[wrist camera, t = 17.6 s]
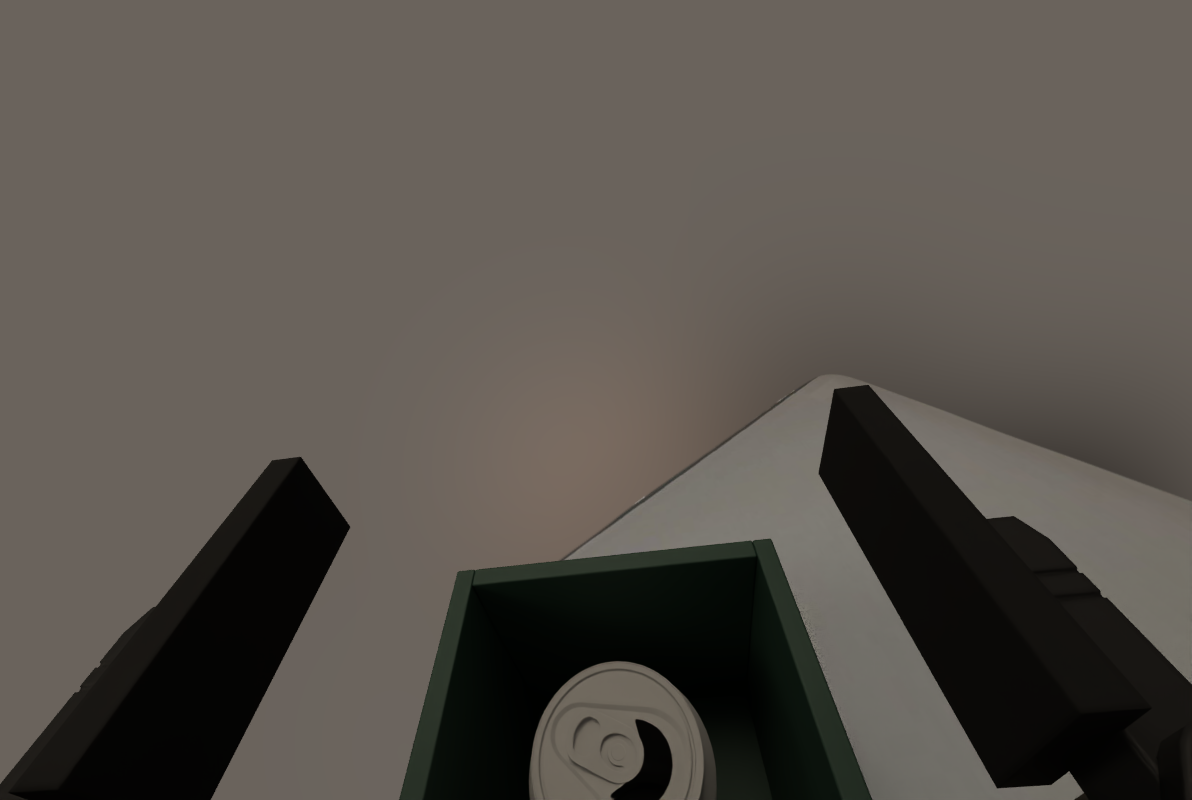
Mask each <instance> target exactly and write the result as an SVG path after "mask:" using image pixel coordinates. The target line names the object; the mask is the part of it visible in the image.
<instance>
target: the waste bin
mask: <svg viewBox="0 0 1192 800" xmlns="http://www.w3.org/2000/svg"><path fill="white" fill-rule="evenodd" d="M616 661H621V662H631V663H635V664H639V665H643V666H645V667H648V668H650V669H652V670H654V671H656V672H657V673H659V674H660V675H662V676H663V677H664V678H666V679H667V680H668V681H669V682H670V683H671V684H672V685H673V686H675V687H676V688H677V689H678V690H679V691H680V692H681V693H682V694H683V695H684V696H685V697H686V698H687V699H688V700H689V702H690V703H691V704H692V706H693V707H694V709H695V710H696V712H697V713H698V715H699V717H700V718H701V720H702V722H703V724H704V726H705V729H706V731H707V734H708V737H709V740H710V743H711V746H712V750H713V754H714V760H715V766H716V781H717V800H872V798H871V796H870V793H869V790H868V788H867V785H866V783H865V780H864V777H863V775H862V772H861V770H860V767H859V765H858V762H857V759H856V757H855V754H854V752H853V749H852V746H851V744H850V741H849V739H848V736H847V733H846V731H845V728H844V726H843V723H842V721H841V718H840V715H839V713H838V710H837V708H836V705H835V702H834V700H833V697H832V695H831V692H830V690H829V687H828V684H827V682H826V679H825V677H824V674H823V671H822V669H821V666H820V664H819V661H818V659H817V656H816V653H815V651H814V648H813V646H812V643H811V640H810V638H809V635H808V633H807V630H806V627H805V625H804V622H803V620H802V617H801V615H800V612H799V609H798V607H797V604H796V602H795V599H794V596H793V594H792V591H791V589H790V586H789V584H788V581H787V578H786V576H785V573H784V571H783V568H782V565H781V563H780V560H779V558H778V555H777V553H776V550H775V547H774V545H773V542H772V540H771V539H763V540H754V541H753V543H752V541H744V542H734V543H725V544H715V545H706V546H696V547H687V548H677V549H668V550H658V551H649V552H639V553H630V554H621V555H611V556H602V557H592V558H583V559H573V560H564V561H554V562H546V563H536V564H526V565H518V566H517V565H516V566H507V567H497V568H488V569H479V570H476V571H475V570H467V571H459V572H458V573H457V578H456V581H455V585H454V589H453V593H452V597H451V600H450V604H449V608H448V612H447V616H446V620H445V624H444V628H443V632H442V636H441V639H440V643H439V647H438V651H437V655H436V659H435V663H434V667H433V670H432V674H431V678H430V682H429V686H428V690H427V694H426V698H425V702H424V706H423V709H422V713H421V717H420V721H419V725H418V729H417V733H416V737H415V741H414V744H413V749H412V752H411V756H410V760H409V764H408V768H407V772H406V776H405V779H404V784H403V787H402V791H401V795H400V799H399V800H530V796H529V770H530V761H531V756H532V748H533V743H534V739H535V734H536V731H537V728H538V725H539V722H540V720H541V717H542V715H543V713H544V711H545V709H546V708H547V706H548V704H549V702H550V701H551V699H552V698H553V697H554V695H555V694H556V693H557V692H558V690H559V689H560V688H561V687H562V686H563V685H564V684H565V683H566V682H568V681H569V680H570V679H571V678H572V677H574V676H575V675H577V674H578V673H580V672H581V671H583V670H585V669H587V668H590V667H592V666H595V665H598V664H601V663H606V662H616Z"/></svg>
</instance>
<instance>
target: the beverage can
mask: <svg viewBox="0 0 1192 800" xmlns="http://www.w3.org/2000/svg"><path fill="white" fill-rule="evenodd" d="M529 796H530V800H717V781H716V766H715V760H714V754H713V750H712V746H711V743H710V740H709V737H708V734H707V731H706V729H705V726H704V724H703V722H702V720H701V718H700V717H699V715H698V713H697V712H696V710H695V709H694V707H693V706H692V704H691V703H690V702H689V700H688V699H687V698H686V697H685V696H684V695H683V694H682V693H681V692H680V691H679V690H678V689H677V688H676V687H675V686H673V685H672V684H671V683H670V682H669V681H668V680H667V679H666V678H664V677H663V676H662V675H660V674H659V673H657V672H656V671H654V670H652V669H650V668H648V667H645V666H643V665H639V664H635V663H631V662H621V661H616V662H606V663H601V664H598V665H595V666H592V667H590V668H587V669H585V670H583V671H581V672H580V673H578V674H577V675H575V676H574V677H572V678H571V679H570V680H569V681H568V682H566V683H565V684H564V685H563V686H562V687H561V688H560V689H559V690H558V692H557V693H556V694H555V695H554V697H553V698H552V699H551V701H550V702H549V704H548V706H547V708H546V709H545V711H544V713H543V715H542V717H541V720H540V722H539V725H538V728H537V731H536V734H535V739H534V743H533V748H532V756H531V761H530V770H529Z"/></svg>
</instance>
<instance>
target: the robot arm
mask: <svg viewBox="0 0 1192 800" xmlns="http://www.w3.org/2000/svg"><path fill="white" fill-rule="evenodd" d="M819 475H820V477H821V479H822V480H823V482H824V484H825V486H826V487H827V489H828V491H829V493H830V494H831V496H832V498H833V500H834V502H835V503H836V505H837V507H838V509H839V510H840V512H841V514H842V516H843V517H844V519H845V521H846V523H847V524H848V526H849V528H850V530H851V532H852V533H853V535H854V537H855V539H856V540H857V542H858V544H859V546H860V547H861V549H862V551H863V553H864V554H865V556H866V558H867V560H868V562H869V563H870V565H871V567H872V569H873V570H874V572H875V574H876V576H877V577H878V579H879V581H880V583H881V584H882V586H883V588H884V590H885V591H886V593H887V595H888V597H889V599H890V600H891V602H892V604H893V606H894V607H895V609H896V611H897V613H898V614H899V616H900V618H901V620H902V621H903V623H904V625H905V627H906V629H907V630H908V632H909V634H910V636H911V637H912V639H913V641H914V643H915V644H916V646H917V648H918V650H919V651H920V653H921V655H922V657H923V658H924V660H925V662H926V664H927V666H928V667H929V669H930V671H931V673H932V674H933V676H934V678H935V680H936V681H937V683H938V685H939V687H940V688H941V690H942V692H943V694H944V696H945V697H946V699H947V701H948V703H949V704H950V706H951V708H952V710H953V711H954V713H955V715H956V717H957V718H958V720H959V722H960V724H961V725H962V727H963V729H964V731H965V733H966V734H967V736H968V738H969V740H970V741H971V743H972V745H973V747H974V748H975V750H976V752H977V754H978V755H979V757H980V759H981V761H982V763H983V764H984V766H985V768H986V770H987V771H988V773H989V775H990V777H991V778H992V780H993V782H994V784H995V785H996V787H997V788H1009V787H1024V786H1040V785H1051V784H1053V783H1054V782H1055V781H1057V780H1058V779H1059V778H1061V777H1062V776H1063V775H1065V774H1066V773H1067V772H1069V771H1070V773H1071V774H1072V776H1073V777H1074V779H1075V780H1076V781H1077V783H1078V784H1079V786H1080V787H1081V789H1082V790H1083V792H1084V793H1083V794H1082V795H1080V796H1079V797H1077V798H1076V799H1074V800H1192V684H1191V683H1190V682H1189V681H1188V680H1187V679H1186V678H1185V677H1184V676H1183V675H1182V674H1181V673H1180V672H1179V671H1178V670H1177V669H1176V668H1175V667H1174V666H1173V665H1172V664H1171V663H1170V662H1169V661H1168V660H1167V659H1166V658H1165V657H1164V656H1163V655H1162V654H1161V653H1160V652H1159V651H1158V650H1157V649H1156V647H1155V646H1154V645H1153V644H1152V643H1151V642H1150V641H1149V640H1148V639H1147V638H1146V637H1145V636H1144V635H1143V634H1142V633H1141V632H1140V631H1139V630H1138V629H1137V628H1136V627H1135V626H1134V625H1133V624H1132V623H1131V622H1130V621H1129V620H1128V619H1127V618H1126V617H1125V616H1124V615H1123V614H1122V613H1121V612H1120V611H1119V610H1118V609H1117V608H1116V607H1115V605H1114V604H1113V603H1112V602H1111V601H1110V600H1109V599H1108V598H1104V597H1102V596H1101V594H1100V592H1101V591H1100V590H1099V589H1098V588H1097V587H1096V586H1095V585H1094V584H1093V583H1092V582H1091V581H1090V580H1089V579H1088V578H1087V577H1086V576H1085V575H1084V574H1083V573H1079V572H1078V571H1077V567H1076V566H1075V565H1074V563H1073V562H1072V561H1071V560H1070V559H1069V558H1068V557H1067V556H1066V555H1065V554H1064V553H1063V552H1062V551H1061V550H1060V549H1059V548H1058V547H1057V546H1056V545H1055V544H1054V543H1053V542H1052V541H1051V540H1050V539H1049V538H1047V537H1046V536H1044V535H1043V534H1041V533H1040V532H1038V531H1036V530H1035V529H1033V528H1032V527H1030V526H1029V525H1027V524H1025V523H1024V522H1022V521H1021V520H1019V519H1018V518H1016V517H1014V516H1011V517H1001V518H992V519H986V518H985V517H984V516H983V515H982V514H981V512H980V511H979V510H978V509H977V508H976V507H975V506H974V504H973V503H972V502H971V501H970V500H969V499H968V498H967V497H966V495H965V494H964V493H963V492H962V491H961V490H960V489H959V487H958V486H957V485H956V484H955V483H954V482H953V481H952V479H951V478H950V477H949V476H948V475H947V474H946V473H945V472H944V470H943V469H942V468H941V467H940V466H939V465H938V464H937V462H936V461H935V460H934V459H933V458H932V457H931V456H930V454H929V453H928V452H927V451H926V450H925V449H924V448H923V447H922V445H921V444H920V443H919V442H918V441H917V440H916V439H915V437H914V436H913V435H912V434H911V433H910V432H909V431H908V429H907V428H906V427H905V426H904V425H903V424H902V423H901V421H900V420H899V419H898V418H897V417H896V416H895V415H894V414H893V412H892V411H891V410H890V409H889V408H888V407H887V406H886V404H885V403H884V402H883V401H882V400H881V399H880V398H879V396H878V395H877V394H876V393H875V392H874V391H873V390H872V389H871V387H870V386H869V385H863V386H855V387H847V388H840V389H834V393H833V398H832V404H831V409H830V414H829V420H828V425H827V431H826V436H825V441H824V447H823V452H822V458H821V463H820V468H819ZM349 529H350V526H349V524H348V523H347V521H346V520H345V519H344V517H343V516H342V514H341V513H340V512H339V510H338V509H337V507H336V506H335V505H334V503H333V502H332V500H331V499H330V498H329V496H328V495H327V493H326V492H325V490H324V489H323V488H322V486H321V485H320V483H319V482H318V480H317V479H316V478H315V476H314V475H313V473H312V472H311V471H310V469H309V468H308V466H307V465H306V464H305V462H304V461H303V459H302V458H301V457H296V458H288V459H280V460H272V461H271V463H270V464H269V465H268V467H267V468H266V469H265V470H264V472H263V473H262V474H261V475H260V477H259V478H258V479H257V480H256V482H255V483H254V484H253V485H252V487H251V488H250V489H249V491H248V492H247V493H246V494H245V495H244V497H243V498H242V499H241V500H240V502H239V503H238V504H237V505H236V507H235V508H234V509H233V511H232V512H231V513H230V514H229V516H228V517H227V518H226V519H225V521H224V522H223V523H222V524H221V526H220V527H219V528H218V529H217V531H216V532H215V533H214V534H213V536H212V537H211V538H210V539H209V541H208V542H207V543H206V544H205V546H204V547H203V548H202V549H201V551H200V552H199V553H198V554H197V556H196V557H195V558H194V560H193V561H192V562H191V563H190V565H189V566H188V567H187V568H186V570H185V571H184V572H183V573H182V575H181V576H180V577H179V578H178V580H177V581H176V582H175V583H174V585H173V586H172V587H171V589H170V590H169V591H168V592H167V594H166V595H165V596H164V597H163V598H162V600H161V601H160V602H159V604H158V605H157V606H156V607H153V608H152V609H150V610H149V611H148V612H147V613H146V614H145V615H144V616H142V617H141V618H140V619H139V620H138V621H137V622H136V623H134V624H133V625H132V626H131V627H130V628H129V629H128V630H126V631H125V632H124V633H123V634H122V636H121V637H120V638H119V639H118V641H117V642H116V643H115V644H114V645H113V647H112V648H111V649H110V650H109V651H108V653H107V654H106V655H105V656H104V658H103V659H102V660H101V661H100V663H101V665H100V666H99V667H98V668H95V669H94V670H93V671H92V672H91V674H90V675H89V676H88V677H87V678H86V680H85V681H84V682H83V683H82V685H81V686H80V687H81V689H80V691H79V692H77V693H74V694H73V696H72V697H71V698H70V699H69V700H68V702H67V703H66V704H65V705H64V707H63V708H62V709H61V710H60V712H59V713H58V714H57V715H56V716H55V718H54V719H53V720H52V721H51V723H50V724H49V725H48V726H47V728H46V729H45V730H44V731H43V733H42V734H41V735H40V736H39V737H38V738H37V740H36V741H35V742H34V743H33V745H32V746H31V747H30V748H29V750H28V751H27V752H26V753H25V754H24V756H23V757H22V758H21V759H20V761H19V762H18V763H17V764H16V766H15V767H14V768H13V769H12V770H11V772H10V773H9V774H8V775H7V777H6V778H5V779H4V780H3V781H2V783H1V784H0V800H211V798H212V796H213V794H214V792H215V790H216V788H217V786H218V784H219V782H220V780H221V778H222V776H223V775H224V772H225V771H226V769H227V767H228V765H229V763H230V761H231V759H232V757H233V755H234V753H235V751H236V749H237V747H238V745H239V743H240V741H241V739H242V737H243V736H244V734H245V732H246V729H247V728H248V726H249V724H250V722H251V720H252V718H253V716H254V714H255V712H256V710H257V708H258V706H259V704H260V702H261V700H262V698H263V696H264V695H265V693H266V691H267V689H268V687H269V685H270V683H271V681H272V679H273V677H274V675H275V673H276V671H277V669H278V667H279V665H280V663H281V661H282V659H283V657H284V655H285V653H286V652H287V650H288V648H289V645H290V643H291V642H292V640H293V638H294V636H295V634H296V632H297V630H298V628H299V626H300V624H301V622H302V620H303V618H304V616H305V614H306V613H307V610H308V609H309V607H310V605H311V603H312V601H313V599H314V597H315V595H316V593H317V591H318V589H319V587H320V585H321V583H322V581H323V579H324V577H325V575H326V573H327V572H328V569H329V568H330V566H331V564H332V562H333V560H334V558H335V556H336V554H337V552H338V550H339V548H340V546H341V544H342V542H343V540H344V538H345V536H346V534H347V532H348V530H349Z"/></svg>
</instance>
